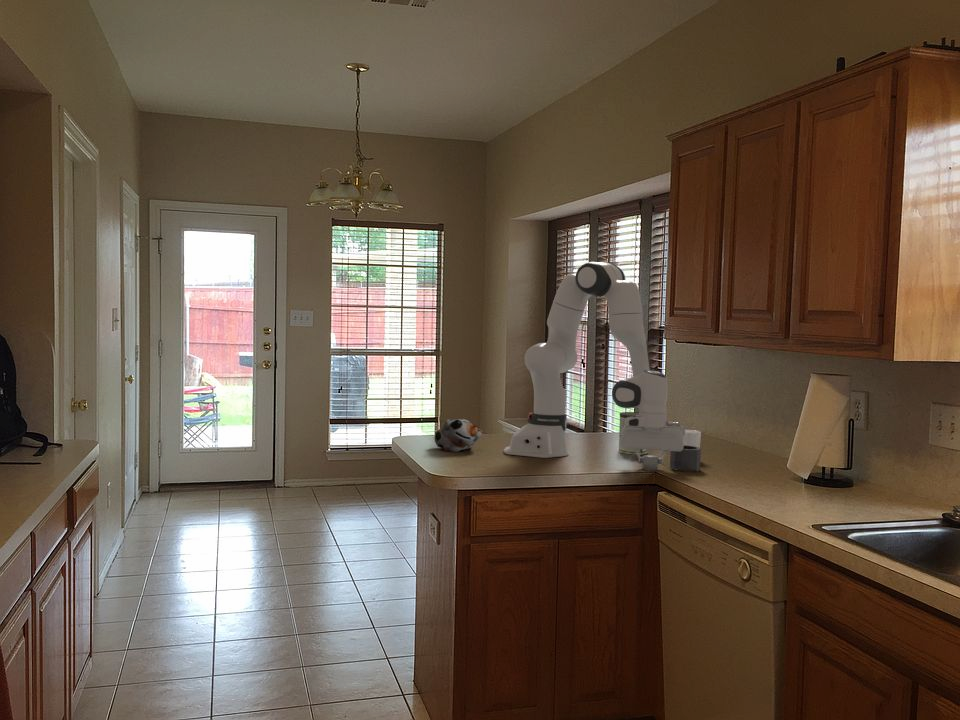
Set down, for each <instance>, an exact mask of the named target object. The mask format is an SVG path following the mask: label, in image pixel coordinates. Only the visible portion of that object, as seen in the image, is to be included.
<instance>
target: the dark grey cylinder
mask: <svg viewBox="0 0 960 720" xmlns="http://www.w3.org/2000/svg"><path fill="white" fill-rule="evenodd" d="M701 452H702V448H701V447H700V448H699V447H696V446H688V445H683V450H682V451H681V452H678V451H669V469H670V468H672V469H671V470H673V469H677V470H683V471H682V472H687V471H694V472H698V471H697V470H701V455H702V454H701ZM677 470H676V471H677Z"/></svg>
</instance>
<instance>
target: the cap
mask: <svg viewBox="0 0 960 720" xmlns="http://www.w3.org/2000/svg"><path fill="white" fill-rule="evenodd" d="M642 457H643V463H642V469H643V470H645V469H646V471H657V470H656V469H658V470H659V464H658V462H659V458H660V457H659V456H657V455H653V454H651V455H649V454H647V455H646V454H643V455H642Z"/></svg>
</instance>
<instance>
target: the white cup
mask: <svg viewBox="0 0 960 720" xmlns="http://www.w3.org/2000/svg"><path fill="white" fill-rule="evenodd" d="M701 437H702V432H701V431H700V430H695V429H685V435H684V436H683V445H688V446H696V447H699V448H701V447H700V446H701Z"/></svg>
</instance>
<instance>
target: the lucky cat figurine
mask: <svg viewBox="0 0 960 720" xmlns="http://www.w3.org/2000/svg"><path fill="white" fill-rule="evenodd" d="M482 435H483V430H481V429H479V427H478V425H476V424H472V422H470V421H469V420H467V419H464V418H463V419H461V418H458V419H456V418H455V419H452V420H450V419H446V421H445V422H444V424H443V425H442V427H441V428H439V429H438V430H437V431H436V432H435V434H434V443H435V445H436V446H437V448H441V450H442V451H443V452H449V453H450V452H451V453H452V452H454V453H459V452H460V451H461V450H467V449H472V448H473V446H474V444H475V443H476V442H477V441H478V440H479V439H480V438H481V436H482Z"/></svg>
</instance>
